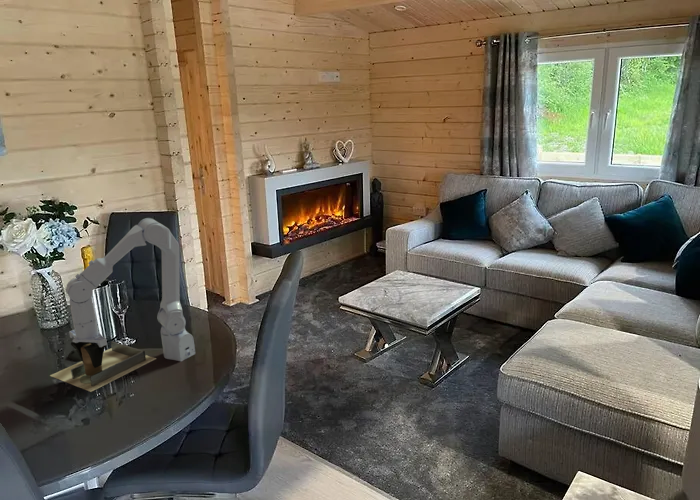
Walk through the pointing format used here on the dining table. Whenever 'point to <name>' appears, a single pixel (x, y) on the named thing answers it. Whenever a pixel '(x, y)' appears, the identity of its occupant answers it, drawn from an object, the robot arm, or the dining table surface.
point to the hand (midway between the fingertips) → (92, 364)
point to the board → (107, 361)
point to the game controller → (74, 356)
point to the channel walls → (113, 370)
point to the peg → (89, 363)
